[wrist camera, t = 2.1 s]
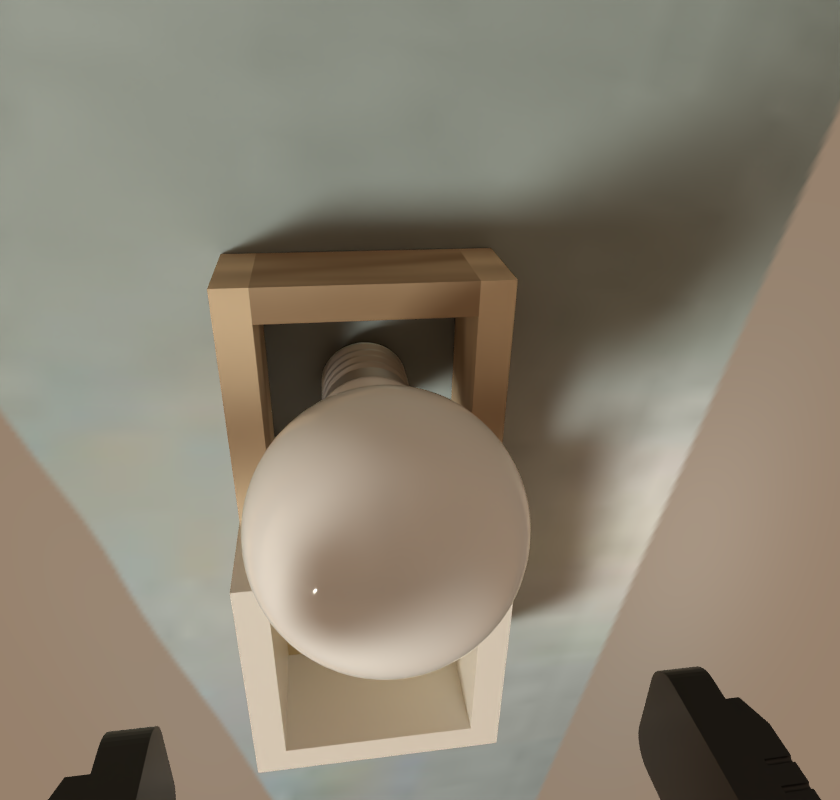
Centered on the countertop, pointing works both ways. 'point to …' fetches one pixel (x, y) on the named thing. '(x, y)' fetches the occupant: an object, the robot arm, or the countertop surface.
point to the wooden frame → (356, 301)
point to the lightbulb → (384, 524)
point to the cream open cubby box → (358, 697)
